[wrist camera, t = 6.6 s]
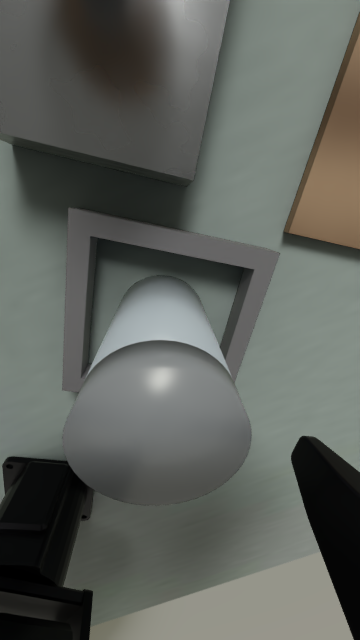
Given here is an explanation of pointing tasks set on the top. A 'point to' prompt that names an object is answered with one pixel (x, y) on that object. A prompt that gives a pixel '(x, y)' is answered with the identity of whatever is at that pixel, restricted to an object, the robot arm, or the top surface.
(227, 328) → the collar
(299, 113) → the top surface
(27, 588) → the robot arm
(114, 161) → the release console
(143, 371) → the cylinder
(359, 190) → the walnut pad
